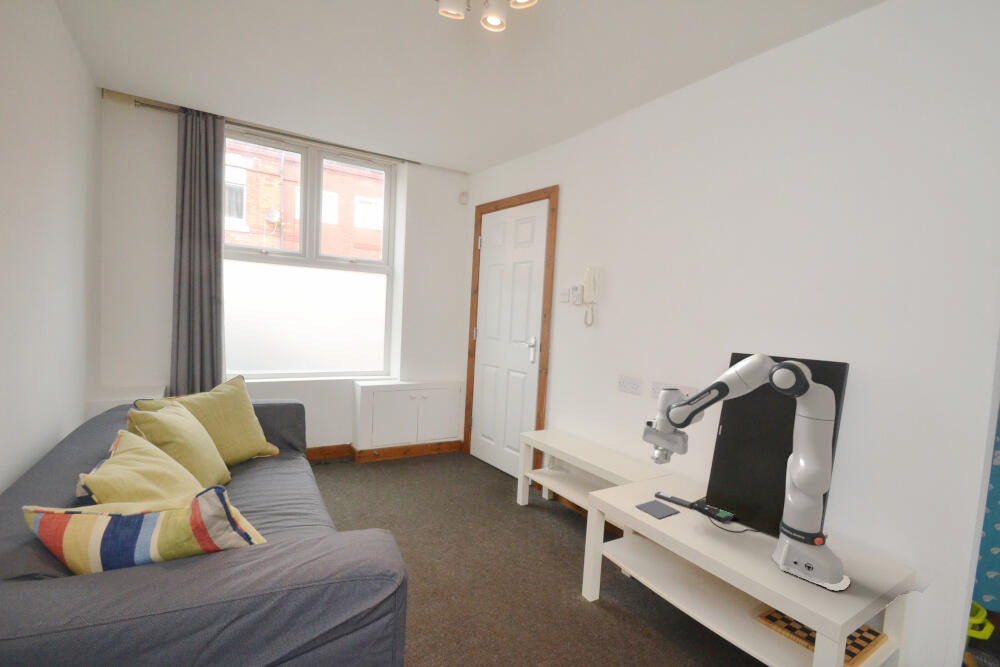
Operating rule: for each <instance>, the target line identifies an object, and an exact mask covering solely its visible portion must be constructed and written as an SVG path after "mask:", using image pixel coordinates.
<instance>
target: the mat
mask: <svg viewBox="0 0 1000 667" xmlns="http://www.w3.org/2000/svg"><path fill="white" fill-rule="evenodd" d="M634 507H635V508H636V509H639V510H641V511H643V512H644V513H646V514H647V515H650V516H652V517H654V518H656V519H658V520H660V519H664V518H666V517H669V516H672V515H675V514H678V513H680V510H677V509H676V508H674V507H672V506H669V505H668V504H666V503H663V502H662V501H659V500H657V499H653V500H649V501H647V502H643V503H640V504H637V505H635V506H634Z"/></svg>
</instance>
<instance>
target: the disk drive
mask: <svg viewBox="0 0 1000 667" xmlns="http://www.w3.org/2000/svg"><path fill="white" fill-rule="evenodd" d="M705 500H706V499H705V498H704V499H700V500H697V501H696V502H695V501H693V502H692V503H691V506H690V507H689V509H692V510H694V511H696V512H698V513H700V514H702V515H705V516H707V517H709V518H711V519H713V520H715V521H717V522H719V523H722V524H723V523H725V522H728V521H731V520H733V519H732V518H733V515H734V514H732V513H730V512H727V511H724V510H721V509H718V508H716V507H713V506H710V505H706V504H705Z"/></svg>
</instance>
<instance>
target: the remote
mask: <svg viewBox="0 0 1000 667" xmlns="http://www.w3.org/2000/svg"><path fill="white" fill-rule="evenodd" d="M654 498H656V499H659V500H663V501H665V502H668V503H670V504H674V505H676V506H680V507H683V508H686V509H690V506H691V503H692V502H691V501H688V500H685V499H682V498H679V497H677V496H674V495H670V494H667V493H664V492H661V491H657V492H655V493H654Z"/></svg>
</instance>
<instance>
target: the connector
mask: <svg viewBox="0 0 1000 667" xmlns="http://www.w3.org/2000/svg"><path fill="white" fill-rule="evenodd" d="M668 454H669V453H668V450H667V449H664V448H658V450H654V454H653V455H651V456H650V460H653V463H654V464H657V465H663V464H669V463H671V459H670V460H666V459H665V455H668Z"/></svg>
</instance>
